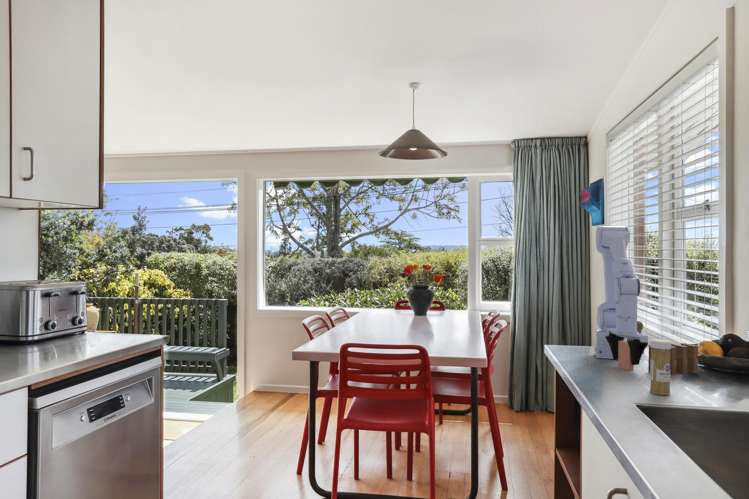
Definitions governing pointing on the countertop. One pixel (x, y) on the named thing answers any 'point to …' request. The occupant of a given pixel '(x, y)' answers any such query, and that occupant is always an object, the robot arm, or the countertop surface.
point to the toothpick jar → (660, 366)
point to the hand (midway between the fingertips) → (625, 361)
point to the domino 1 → (624, 356)
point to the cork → (639, 328)
